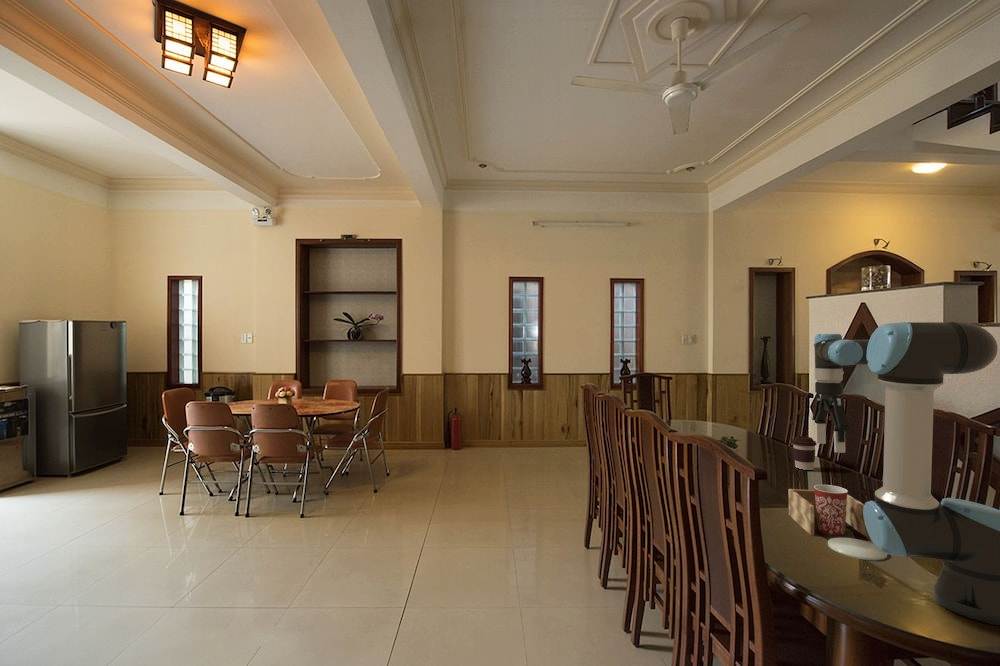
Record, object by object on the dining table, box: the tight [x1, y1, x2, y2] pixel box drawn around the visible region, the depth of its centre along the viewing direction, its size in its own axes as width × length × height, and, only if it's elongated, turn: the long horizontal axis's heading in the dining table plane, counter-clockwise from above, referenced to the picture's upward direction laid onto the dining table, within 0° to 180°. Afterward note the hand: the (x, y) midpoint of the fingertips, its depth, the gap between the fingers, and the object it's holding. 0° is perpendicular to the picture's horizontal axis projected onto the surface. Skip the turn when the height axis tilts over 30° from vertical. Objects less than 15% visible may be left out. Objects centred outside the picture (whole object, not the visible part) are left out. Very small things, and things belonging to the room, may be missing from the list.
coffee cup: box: [791, 435, 817, 471], centre depth 234 cm, size 10×10×15 cm
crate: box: [788, 488, 871, 540], centre depth 162 cm, size 18×17×9 cm
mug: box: [813, 484, 849, 536], centre depth 160 cm, size 13×9×14 cm
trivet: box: [827, 537, 888, 562], centre depth 144 cm, size 14×14×1 cm
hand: (830, 447), depth 160 cm, fingers open, 13 cm apart
